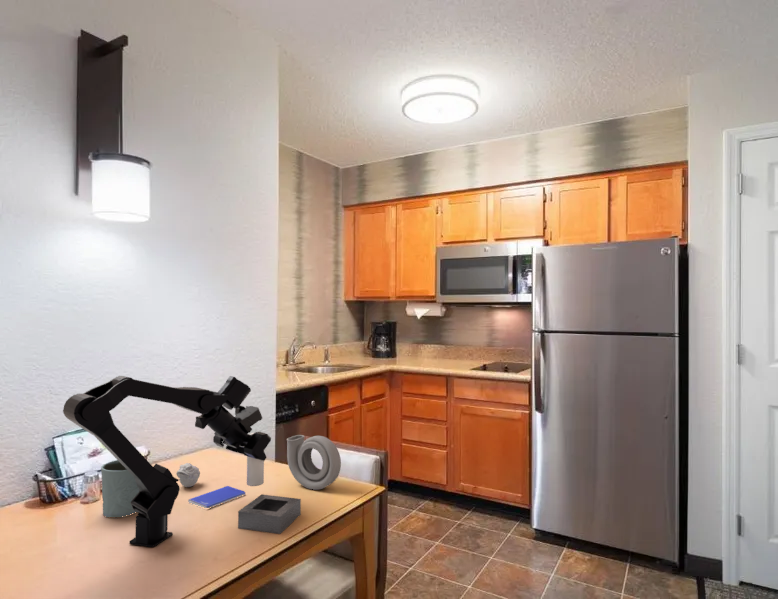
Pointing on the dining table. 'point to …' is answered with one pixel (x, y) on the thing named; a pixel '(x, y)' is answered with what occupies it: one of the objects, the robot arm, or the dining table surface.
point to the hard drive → (216, 497)
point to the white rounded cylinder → (255, 471)
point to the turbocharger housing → (304, 466)
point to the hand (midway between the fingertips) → (259, 457)
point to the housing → (269, 513)
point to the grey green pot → (117, 490)
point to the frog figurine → (188, 475)
